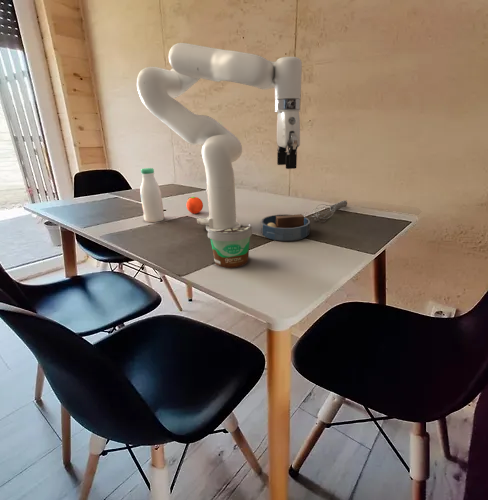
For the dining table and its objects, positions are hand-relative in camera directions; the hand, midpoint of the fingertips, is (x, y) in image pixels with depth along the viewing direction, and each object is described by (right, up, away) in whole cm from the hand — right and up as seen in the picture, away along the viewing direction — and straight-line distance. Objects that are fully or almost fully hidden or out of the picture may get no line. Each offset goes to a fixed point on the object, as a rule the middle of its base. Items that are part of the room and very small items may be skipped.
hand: (286, 166), depth 98 cm
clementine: (-36, -11, +35) cm, 51 cm away
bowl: (0, -21, +8) cm, 22 cm away
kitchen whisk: (+21, -12, +30) cm, 39 cm away
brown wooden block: (+2, -20, +8) cm, 22 cm away
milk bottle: (-50, -14, +27) cm, 59 cm away
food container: (-15, -30, -14) cm, 37 cm away
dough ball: (-4, -19, +7) cm, 20 cm away
